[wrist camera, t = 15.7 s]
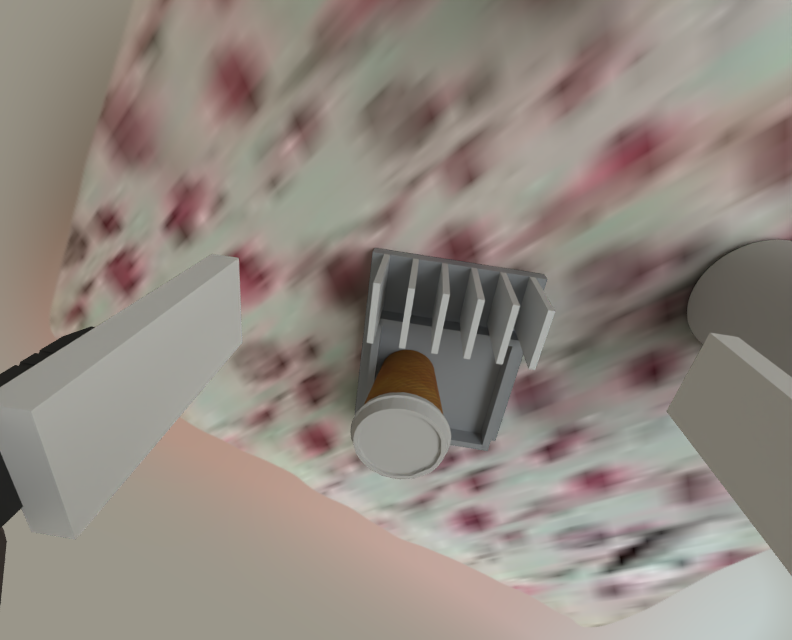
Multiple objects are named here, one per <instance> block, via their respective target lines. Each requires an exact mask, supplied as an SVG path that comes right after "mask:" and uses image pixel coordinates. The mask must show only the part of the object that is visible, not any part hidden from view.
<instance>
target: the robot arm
mask: <svg viewBox="0 0 792 640" xmlns="http://www.w3.org/2000/svg"><path fill="white" fill-rule="evenodd" d="M241 344H242V323H241V300H240V278H239V258H235V257H229V256H223V255H216V254H211V255H209V256H207V257H206V258H204V259H203V260H201V261H200V262H198V263H196V264H195V265H193V266H192V267H190V268H188V269H187V270H185V271H184V272H182V273H181V274H179V275H177V276H176V277H174V278H173V279H171V280H169V281H168V282H166V283H165V284H163V285H162V286H160V287H158V288H157V289H155V290H154V291H152V292H150V293H149V294H147V295H146V296H144V297H142V298H141V299H139V300H138V301H136V302H135V303H133V304H131V305H130V306H128V307H127V308H125V309H123V310H122V311H120V312H119V313H117V314H116V315H114V316H112V317H111V318H109V319H108V320H106V321H104V322H103V323H101V324H100V325H98V326H97V327H89V328H86V329H83V330H80V331H77V332H74V333H71V334H69V335H66V336H63V337H61V338H59V339H58V340H56V341H55V342H53V343H51V344H49V345H48V346H46V347H44V348H43V349H41V350H40V352H39V354H37V353H34V354H33V355H31V356H30V357H28V358H26V359H25V360H23V361H21V362H20V365H19V366H17V365H15V366H13V367H11V368H10V369H8V370H6V371H5V372H3V373H1V374H0V603H1V593H2V583H3V573H4V563H5V552H6V542H7V541H6V537H5V534H4V530H3V528H2V526H3V525H4V524H5V523H6V522H7V521H8V520H9V519H10V518H11V517H13V515H15V514H16V513H17V512H18V510H20V509H22V511H23V513H24V516H25V518H26V521H27V523H28V525H29V528H30V530H31V532H35V533H40V534H46V535H52V536H58V537H63V538H69V539H77V537H78V536H79V535H80V534H81V533H82V532H83V530H84V529H85V528H86V527H87V525H88V524H89V523H90V522H91V521H92V520H93V519H94V517H95V516H96V515H97V514H98V513H99V511H100V510H101V509H102V508H103V507H104V506H105V504H106V503H107V502H108V501H109V500H110V498H111V497H112V496H113V495H114V494H115V493H116V491H117V490H118V489H119V488H120V487H121V485H122V484H123V483H124V482H125V481H126V480H127V478H128V477H129V476H130V475H131V474H132V472H133V471H134V470H135V469H136V468H137V467H138V465H139V464H140V463H141V462H142V461H143V459H144V458H145V457H146V456H147V455H148V453H149V452H150V451H151V450H152V449H153V448H154V446H155V445H156V444H157V443H158V441H159V440H160V439H161V438H162V437H163V436H164V435H165V433H166V432H167V431H168V430H169V429H170V427H171V426H172V425H173V424H174V423H175V422H176V420H177V419H178V418H179V417H180V416H181V414H182V413H183V412H184V411H185V410H186V409H187V407H188V406H189V405H190V404H191V403H192V401H193V400H194V399H195V398H196V397H197V396H198V394H199V393H200V392H201V391H202V390H203V388H204V387H205V386H206V385H207V384H208V383H209V381H210V380H211V379H212V378H213V377H214V375H215V374H216V373H217V372H218V371H219V370H220V368H221V367H222V366H223V365H224V364H225V362H226V361H227V360H228V359H229V358H230V357H231V355H232V354H233V353H234V352H235V351H236V349H237V348H238V347H239V346H240V345H241ZM667 413H668V414H669V415H670V417H671V418H672V419H673V420H674V422H675V423H676V424H677V426H678V427H679V428H680V430H681V431H682V432H683V434H684V435H685V436H686V438H687V439H688V440H689V441H690V443H691V444H692V445H693V447H694V448H695V449H696V451H697V452H698V453H699V455H700V456H701V457H702V459H703V460H704V461H705V462H706V464H707V465H708V466H709V468H710V469H711V470H712V472H713V473H714V474H715V476H716V477H717V478H718V480H719V481H720V482H721V483H722V485H723V486H724V487H725V489H726V490H727V491H728V493H729V494H730V495H731V497H732V498H733V499H734V501H735V502H736V503H737V505H738V506H739V507H740V508H741V510H742V511H743V512H744V514H745V515H746V516H747V518H748V519H749V520H750V522H751V523H752V524H753V526H754V527H755V528H756V529H757V531H758V532H759V533H760V535H761V536H762V537H763V539H764V540H765V541H766V543H767V544H768V545H769V547H770V548H771V549H772V550H773V552H774V553H775V554H776V556H777V557H778V558H779V560H780V561H781V562H782V564H783V565H784V566H785V567H786V569H787V570H788V572H789V573H790V574H791V575H792V377H791V376H789V375H788V374H787V373H785V372H784V371H783V370H781V369H780V368H779V367H777V366H776V365H775V364H773V363H772V362H771V361H769V360H768V359H767V358H765V357H764V356H763V355H761V354H760V353H759V352H757V351H756V350H755V349H753V348H752V347H751V346H749V345H748V344H747V343H745V342H744V341H743V340H741V339H740V338H739V337H735V336H729V335H722V334H716V333H709V335H708V337H707V339H706V341H705V343H704V344H703V346H702V348H701V350H700V352H699V353H698V355H697V357H696V359H695V361H694V362H693V364H692V366H691V368H690V370H689V372H688V373H687V375H686V377H685V379H684V381H683V382H682V384H681V386H680V388H679V390H678V391H677V393H676V395H675V397H674V399H673V401H672V402H671V404H670V406H669V408H668V410H667Z"/></svg>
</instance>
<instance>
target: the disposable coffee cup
mask: <svg viewBox="0 0 792 640" xmlns="http://www.w3.org/2000/svg"><path fill="white" fill-rule="evenodd" d="M351 439H352V441H353V445H354V448H355V452H356V454H357V455H358V457H359V459H360V460H361V462H362V463H364V464H365V465H366V466H367V467H368V468H369V469H370V470H372V471H374V472H376V473H378V474H380V475H382V476H386V477H390V478H395V479H410V478H417V477H420V476H424V475H426V474H428V473H430V472H431V471H433V470H434V469H436V467H437V466H438V465H439V464H440V463H441V461H442V460H443V458H444V456H445V454H446V453H447V451H448V449H449V446H450V442H451V431H450V427H449V424H448V422H447V420H446V418H445V416H444V415H443V411H442V405H441V401H440V396H439V391H438V386H437V381H436V376H435V371H434V367H433V364H432V363H431V361H430V360H429V359H428V358H427V357H426V356H425V355H423V354H422V353H420V352H418V351H414V350H400V351H396V352H394V353H392V354H390V355H389V356H388V357H387V358H386V359H385V360H384V362H383V364H382V366H381V369H380V371H379V373H378V375H377V377H376V379H375V381H374V384H373V386H372V388H371V390H370V392H369V394H368V397H367V399H366V401H365V403H364V405H363V406H362V407H361V408H360V409H359V410H358V411H357V413H356V415H355V416H354V418H353V421H352V424H351Z"/></svg>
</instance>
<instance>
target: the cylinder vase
mask: <svg viewBox="0 0 792 640" xmlns="http://www.w3.org/2000/svg"><path fill="white" fill-rule="evenodd" d="M687 318H688V323H689V326H690V329H691V331H692V333H693V334H694V336H695V337H696V338H697V339H698V340H699V341H700V342H701V343H702V344H704V343H705V341H706V339H707V337H708V335H709V333H716V334H722V335H729V336H735V337H739V338H740V339H741V340H743V341H744V342H745V343H747V344H748V345H749V346H751V347H752V348H753V349H755V350H756V351H757V352H759V353H760V354H761V355H763V356H764V357H765V358H767V359H768V360H769V361H771V362H772V363H773V364H775V365H776V366H777V367H779V368H780V369H781V370H783V371H784V372H785V373H787V374H788V375H789V376H791V377H792V241H790V240H766V241H760V242H756V243H752V244H749V245H746V246H743V247H741V248H738V249H736V250H734V251H732V252H730V253H729V254H727V255H725V256H724V257H722V258H721V259H719V260H718V261H717V262H715V263H714V264H713V265H712V266H711V267H710V268H709V269H708V270H707V271H706V272H705V273H704V274H703V275H702V276H701V277H700V279H699V280H698V282H697V283H696V285H695V286H694V288H693V290H692V292H691V295H690V298H689V301H688V306H687Z"/></svg>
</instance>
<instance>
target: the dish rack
mask: <svg viewBox="0 0 792 640" xmlns="http://www.w3.org/2000/svg"><path fill="white" fill-rule="evenodd" d="M546 282H547V278H546V277H545V275H544V274H539V273H533V272H526V271H520V270H513V269H507V268H501V267H494V266H488V265H482V264H475V263H469V262H462V261H456V260H450V259H443V258H437V257H430V256H424V255H418V254H411V253H405V252H398V251H392V250H386V249H379V248H374V250H373V254H372V263H371V272H370V282H369V291H368V300H367V309H366V318H365V327H364V336H363V345H362V354H361V363H360V372H359V381H358V390H357V399H356V408H355V415H356V413H357V411H358V410H359V409H360V408H361V407H362V406H363V405H364V403H365V401H366V399H367V397H368V394H369V392H370V390H371V388H372V386H373V384H374V381H375V379H376V377H377V375H378V373H379V371H380V369H381V366H382V364H383V362H384V360H385V359H386V358H387V357H388V356H389V355H390V354H392V353H394V352H396V351H400V350H414V351H418V352H420V353H422V354H423V355H425V356H426V357H427V358H428V359H429V360H430V361H431V363H432V364H433V367H434V371H435V376H436V381H437V386H438V391H439V396H440V401H441V405H442V411H443V415H444V416H445V418H446V420H447V422H448V424H449V427H450V431H451V442H450V445H455V446H461V447H467V448H473V449H479V450H485V451H488V448H489V445H490V441H491V440H493V441H495V440H496V437H497V434H498V431H499V428H500V425H501V422H502V418H503V415H504V412H505V409H506V406H507V403H508V400H509V397H510V394H511V391H512V387H513V384H514V381H515V378H516V375H517V372H518V369H519V366H520V363H521V360H522V356H523V354H524V357H525V360H526V363H527V366H528V368H529V369H533V370H535V369H536V366H537V363H538V360H539V357H540V355H541V352H542V349H543V346H544V343H545V340H546V337H547V334H548V331H549V329H550V326H551V323H552V320H553V317H554V314H555V310H554V308H553V306H552V305H551V303H550V301H549V300H548V298H547V296H546V295H545V293H544V288H545V285H546Z"/></svg>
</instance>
